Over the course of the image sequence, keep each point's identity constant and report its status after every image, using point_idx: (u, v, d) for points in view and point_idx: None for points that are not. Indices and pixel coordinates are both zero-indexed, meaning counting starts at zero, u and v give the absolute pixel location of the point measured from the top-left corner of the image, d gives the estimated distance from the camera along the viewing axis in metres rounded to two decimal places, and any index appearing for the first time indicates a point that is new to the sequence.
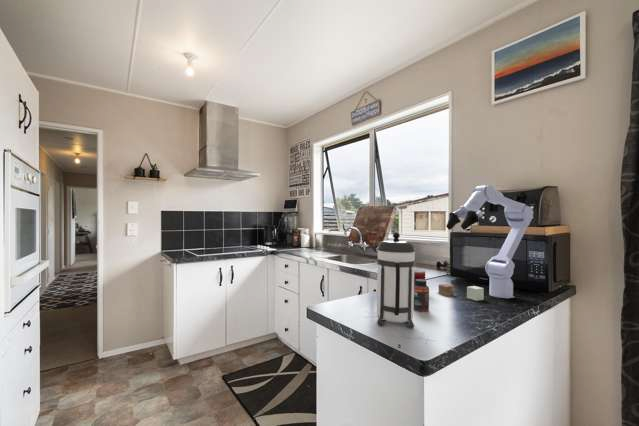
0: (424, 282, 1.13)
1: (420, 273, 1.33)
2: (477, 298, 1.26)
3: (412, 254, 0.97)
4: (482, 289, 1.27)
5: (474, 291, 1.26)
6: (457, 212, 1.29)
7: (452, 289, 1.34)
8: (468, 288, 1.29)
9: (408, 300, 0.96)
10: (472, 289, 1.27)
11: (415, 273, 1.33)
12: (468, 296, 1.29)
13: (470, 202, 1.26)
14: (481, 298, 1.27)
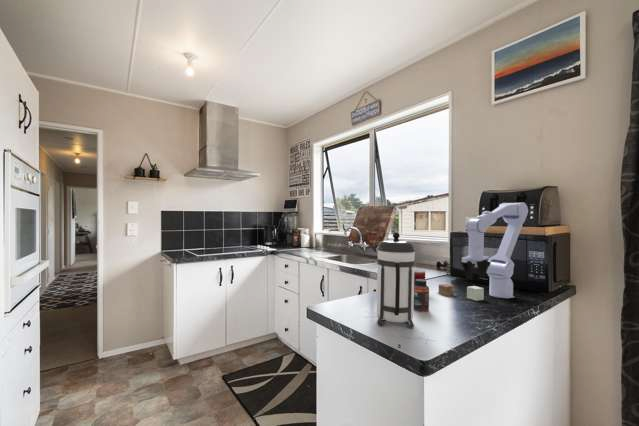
0: (424, 282, 1.13)
1: (420, 273, 1.33)
2: (477, 298, 1.26)
3: (412, 254, 0.97)
4: (482, 289, 1.27)
5: (474, 291, 1.26)
6: None
7: (452, 289, 1.34)
8: (468, 288, 1.29)
9: (408, 300, 0.96)
10: (472, 289, 1.27)
11: (415, 273, 1.33)
12: (468, 296, 1.29)
13: None
14: (481, 298, 1.27)
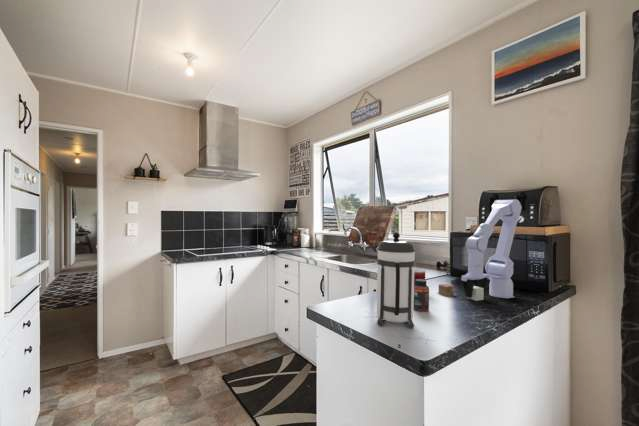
0: (424, 282, 1.13)
1: (420, 273, 1.33)
2: (477, 298, 1.26)
3: (412, 254, 0.97)
4: (482, 289, 1.27)
5: (474, 291, 1.26)
6: None
7: (452, 289, 1.34)
8: None
9: (408, 300, 0.96)
10: None
11: (415, 273, 1.33)
12: None
13: None
14: (481, 298, 1.27)
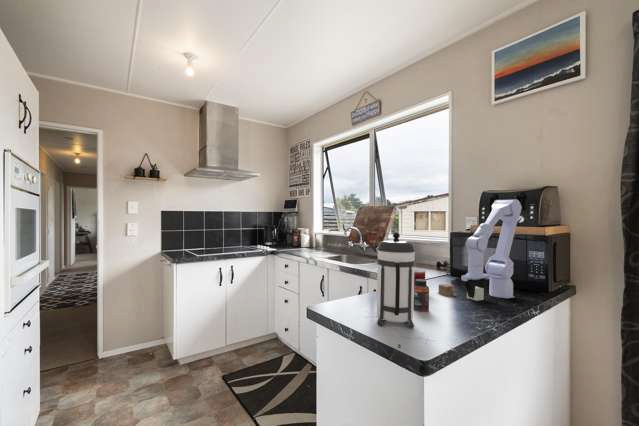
0: (424, 282, 1.13)
1: (420, 273, 1.33)
2: (477, 298, 1.26)
3: (412, 254, 0.97)
4: (482, 289, 1.27)
5: None
6: None
7: (452, 289, 1.34)
8: None
9: (408, 300, 0.96)
10: None
11: (415, 273, 1.33)
12: None
13: None
14: (481, 298, 1.27)
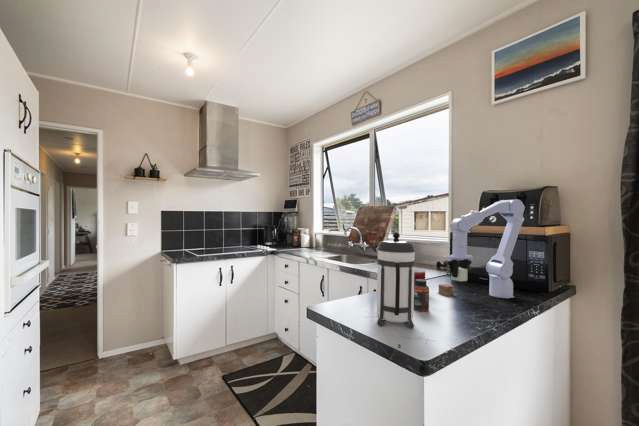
0: (424, 282, 1.13)
1: (420, 273, 1.33)
2: (461, 278, 1.29)
3: (412, 254, 0.97)
4: (466, 270, 1.31)
5: (458, 271, 1.30)
6: None
7: (452, 289, 1.34)
8: None
9: (408, 300, 0.96)
10: None
11: (415, 273, 1.33)
12: (452, 277, 1.32)
13: None
14: (465, 279, 1.30)
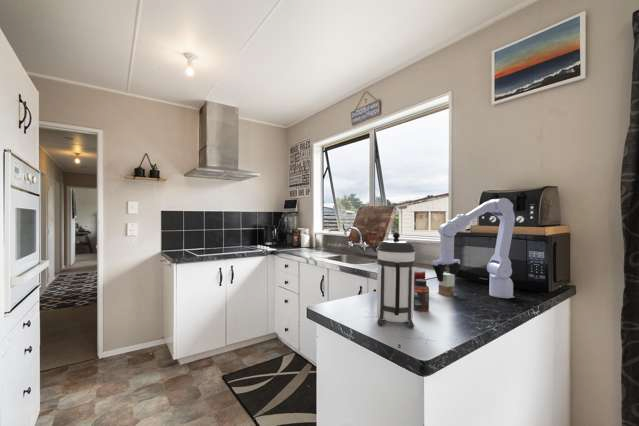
0: (424, 282, 1.13)
1: (420, 273, 1.33)
2: (448, 284, 1.32)
3: (412, 254, 0.97)
4: (453, 275, 1.34)
5: (445, 277, 1.33)
6: None
7: (452, 289, 1.34)
8: None
9: (408, 300, 0.96)
10: (443, 275, 1.34)
11: (415, 273, 1.33)
12: (440, 282, 1.35)
13: None
14: (452, 284, 1.33)
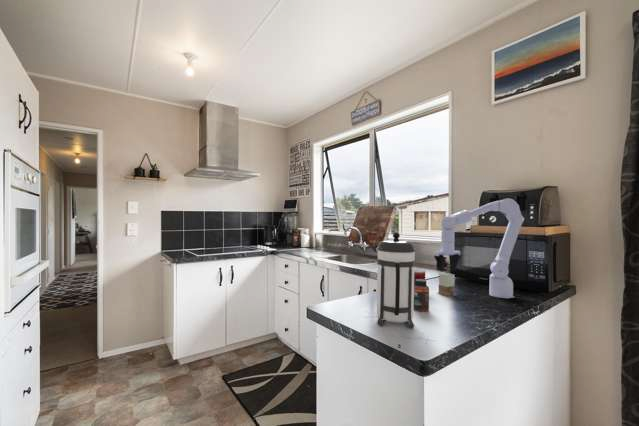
0: (424, 282, 1.13)
1: (420, 273, 1.33)
2: (448, 284, 1.32)
3: (412, 254, 0.97)
4: (453, 275, 1.34)
5: (445, 277, 1.33)
6: None
7: (452, 289, 1.34)
8: (440, 275, 1.35)
9: (408, 300, 0.96)
10: (443, 275, 1.34)
11: (415, 273, 1.33)
12: (440, 282, 1.35)
13: None
14: (452, 284, 1.33)
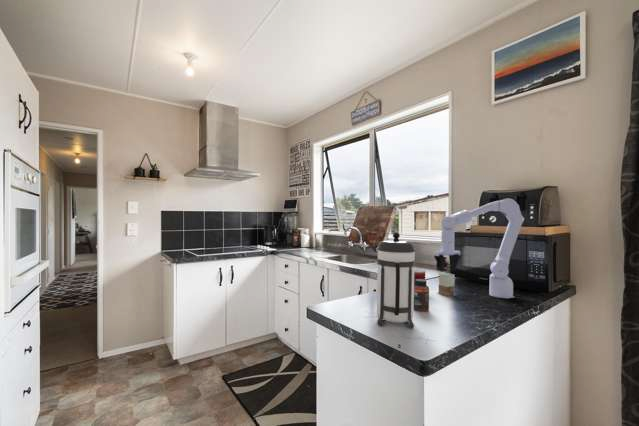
0: (424, 282, 1.13)
1: (420, 273, 1.33)
2: (448, 284, 1.32)
3: (412, 254, 0.97)
4: (453, 275, 1.34)
5: (445, 277, 1.33)
6: None
7: (452, 289, 1.34)
8: (440, 275, 1.35)
9: (408, 300, 0.96)
10: (443, 275, 1.34)
11: (415, 273, 1.33)
12: (440, 282, 1.35)
13: None
14: (452, 284, 1.33)
